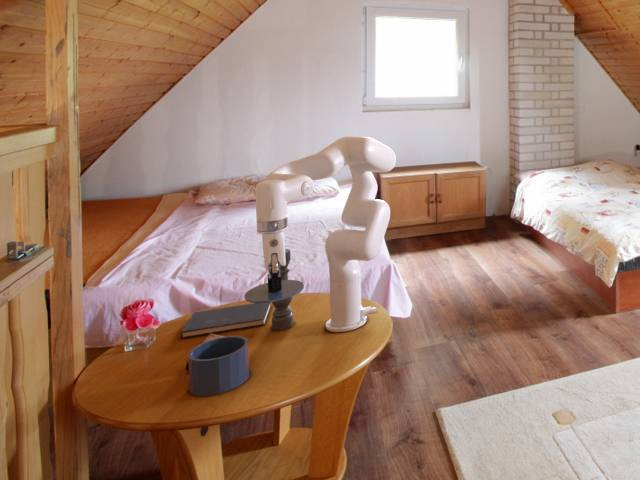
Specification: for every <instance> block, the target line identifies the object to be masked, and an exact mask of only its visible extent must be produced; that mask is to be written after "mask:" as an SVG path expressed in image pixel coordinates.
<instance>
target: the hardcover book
mask: <svg viewBox="0 0 640 480" xmlns="http://www.w3.org/2000/svg"><path fill="white" fill-rule="evenodd" d="M271 308H272V302H269V303H246V304H240V305H233V306H226V307H220V308H212V309H206V310H199V311H194V312H193V313H192V315H191V316H190V318H189V319H188V321H187V322H186V324H185V325H184V327H183V329H181V332H180V333H181V334H182V336H181V339H182V340H183V339H189V338H194V337H201V336H206V335H207V336H208V335H209V334H210V333H212V334H219V333H220V334H221V333H226V332H232V331H237V330H244V329H251V328H257V327H262V326H265V325H266V322H267V319H268V317H269V314H270V311H271Z"/></svg>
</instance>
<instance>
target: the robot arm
mask: <svg viewBox="0 0 640 480" xmlns="http://www.w3.org/2000/svg"><path fill="white" fill-rule="evenodd" d="M396 165H397V156H396V153H395V151H394V150H393V149H392V148H391V147H389V146H388V145H385V144H383V143H382V142H380V141H378V140H376V139H374V138H371V137H368V136H344V137H340V138H338V139H336V140H335V141H333V142H332V143H330V144H329V145H327V146H326V147H324V148H323V149H321V150H320V151H318V152H316V153H315V154H314V153H313V154H311V155H308V156H305V157H302V158H299V159H296V160H292V161H290V162H287V163H285V164H282V165H281V166H279V167H278V168H276V169H274V170H272V171H271V172H270V173H269V174H268V175H266V177H265V178H264V179H263V180H262V181H259V182H257V184H256V185H255V192H254V193H255V214H256V215H255V216H256V219H255V220H256V233H257V234H261V238H262V239H261V241H262V251H263V253H262V254H263V260H264V265H265V269H267V275H266V276H267V283H268V292H269V293H272V292H277V291H281V290H282V284H281V274H280V265H281V266H285V265H286V258H285V249H286V239H285V231H286V230H287V229H288V228H289V222H288V221H289V220H288V203H295V202H300V201H304V200H306V199H308V198H309V197H311V195H312V194H313V192H314V189H315V182H314V181H318V180H323V179H327V178H330V177H332V176H334V175H335V174H337V173H338V172H339V171H341V170H342V169H343V168H345V167H347V166H348V168H349V170H350V173H351V179H352V183H351V188H350V191H349V194H348V195H347V199H346V202H345V204H344V207H343V210H342V213H341V217H340V219H341V222H342V224H344V225H345V226H347V227H351V228H363V229H364V230H361V229H349V228H348V229H347V228H343V229H335V230H334V231H332V232H331V233H329V234H328V236H327V237H326V240H325V242H324V248H325V254H326V259H327V263H328V272H329V308H330V309H329V311H330V318H329V319H328V320H327V321H326V322H325V329H326V330H327V331H329V332H331V333H345V332H350V331H353V330H355V329H358V328H361V327H362V326H364V325H365V324H366V323H367V321H368V315H373V314H377V313H378V309H377V307H376V306H375V307H372V305H370V306H367V307H366V306H365V307H364V306H363V304H362V275H361V274H362V270H361V266H360V263H359V261H360V262H368V261H372V260H374V259H375V258H376V257H377V256H378V254H379V252H380V250H381V247H382V244H383V241H384V239H385V235H386V232H387V229H388V226H389V223H390V220H391V207H390V205H389V203H388V202H386V201H385V200H382V199H376V197H377V193H378V189H379V188H378V187H379V186H378V182H377V179H376V177H375V175H374V174H373V173H388V172H390V171H392V170H393V169H394V168H395V166H396ZM268 273H269V278H268Z"/></svg>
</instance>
